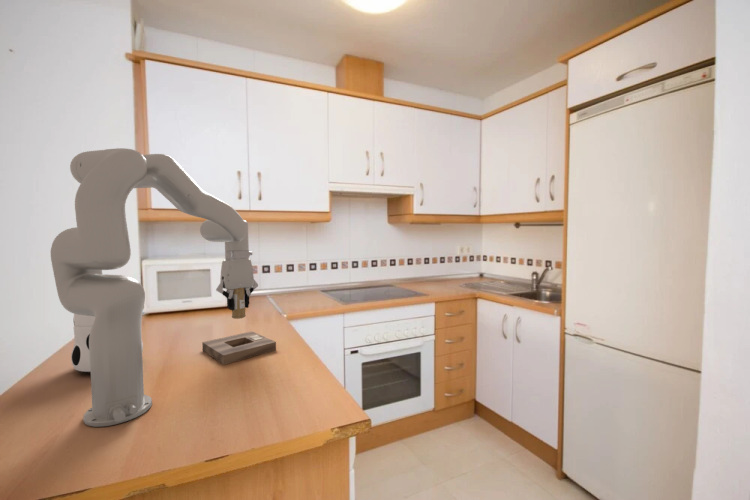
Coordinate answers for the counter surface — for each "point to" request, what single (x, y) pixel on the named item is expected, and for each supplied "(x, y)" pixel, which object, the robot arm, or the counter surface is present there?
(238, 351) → the socket board
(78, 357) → the milk container
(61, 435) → the counter surface
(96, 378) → the robot arm
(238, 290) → the sprinkles bottle
